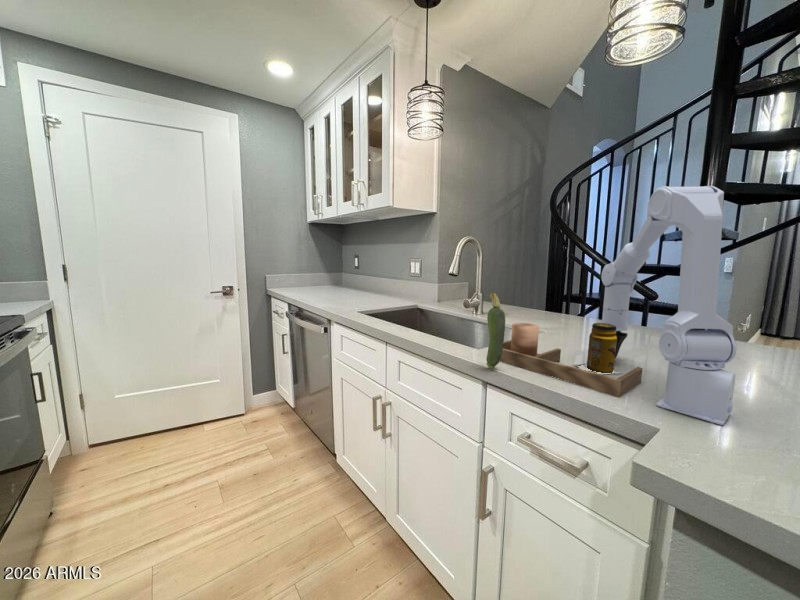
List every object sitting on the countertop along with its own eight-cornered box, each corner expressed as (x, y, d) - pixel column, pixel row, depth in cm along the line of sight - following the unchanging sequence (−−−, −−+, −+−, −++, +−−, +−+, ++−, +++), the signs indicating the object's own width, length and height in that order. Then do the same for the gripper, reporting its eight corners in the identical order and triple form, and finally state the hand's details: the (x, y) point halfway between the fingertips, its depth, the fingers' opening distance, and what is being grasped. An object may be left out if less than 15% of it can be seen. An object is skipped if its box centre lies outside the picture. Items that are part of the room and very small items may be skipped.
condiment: (622, 374, 82) (627, 327, 80) (591, 375, 80) (595, 328, 79) (600, 364, 89) (604, 321, 87) (572, 365, 88) (575, 322, 86)
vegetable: (500, 367, 86) (504, 291, 83) (504, 372, 82) (508, 293, 79) (483, 366, 86) (487, 291, 84) (486, 372, 82) (490, 293, 79)
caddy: (640, 382, 76) (645, 341, 75) (618, 397, 68) (623, 351, 67) (515, 349, 102) (517, 318, 101) (488, 357, 94) (489, 324, 92)
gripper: (609, 305, 96) (605, 350, 97) (587, 309, 87) (583, 359, 89) (638, 308, 90) (633, 356, 92) (618, 313, 81) (612, 366, 83)
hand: (610, 358), depth 90 cm, fingers closed
